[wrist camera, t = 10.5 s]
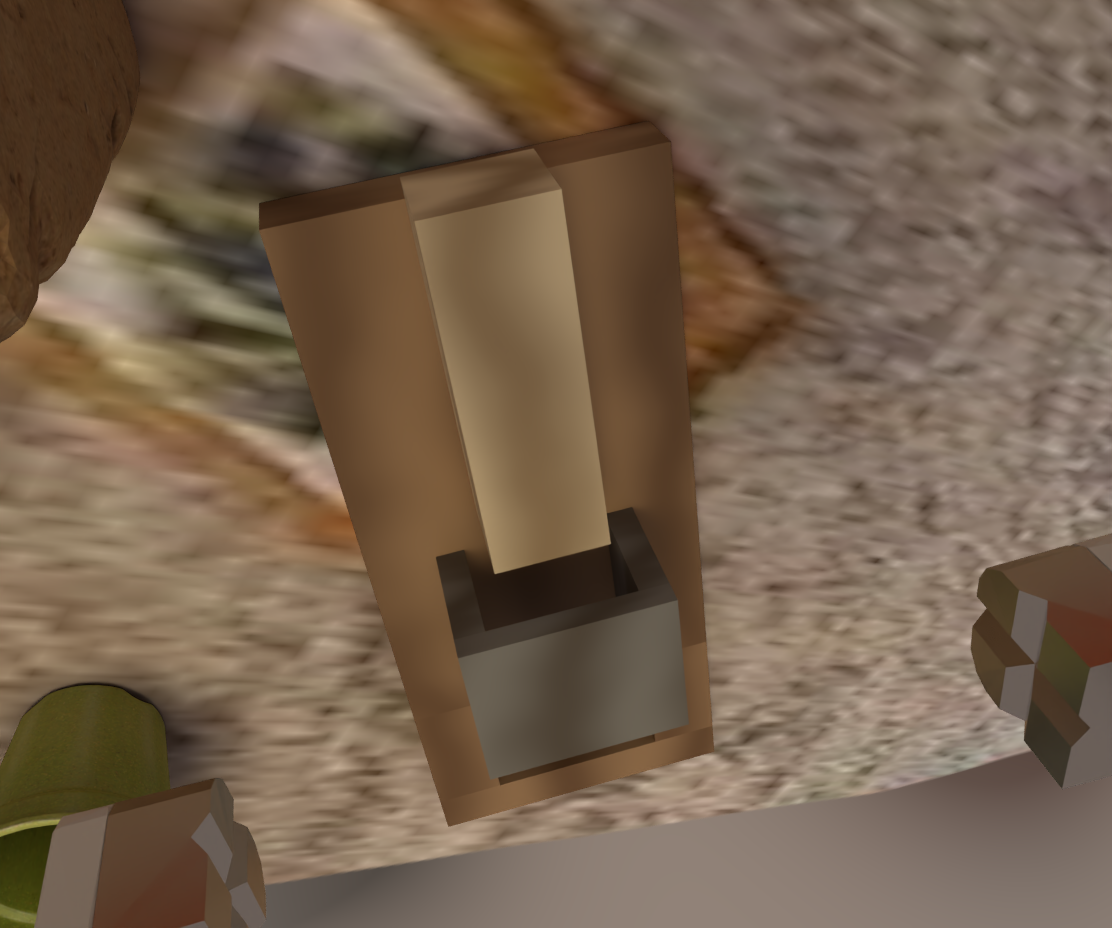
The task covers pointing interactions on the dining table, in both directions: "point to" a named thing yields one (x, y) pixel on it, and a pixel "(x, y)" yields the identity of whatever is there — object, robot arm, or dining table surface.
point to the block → (56, 133)
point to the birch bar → (512, 352)
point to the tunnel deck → (448, 504)
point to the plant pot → (70, 778)
